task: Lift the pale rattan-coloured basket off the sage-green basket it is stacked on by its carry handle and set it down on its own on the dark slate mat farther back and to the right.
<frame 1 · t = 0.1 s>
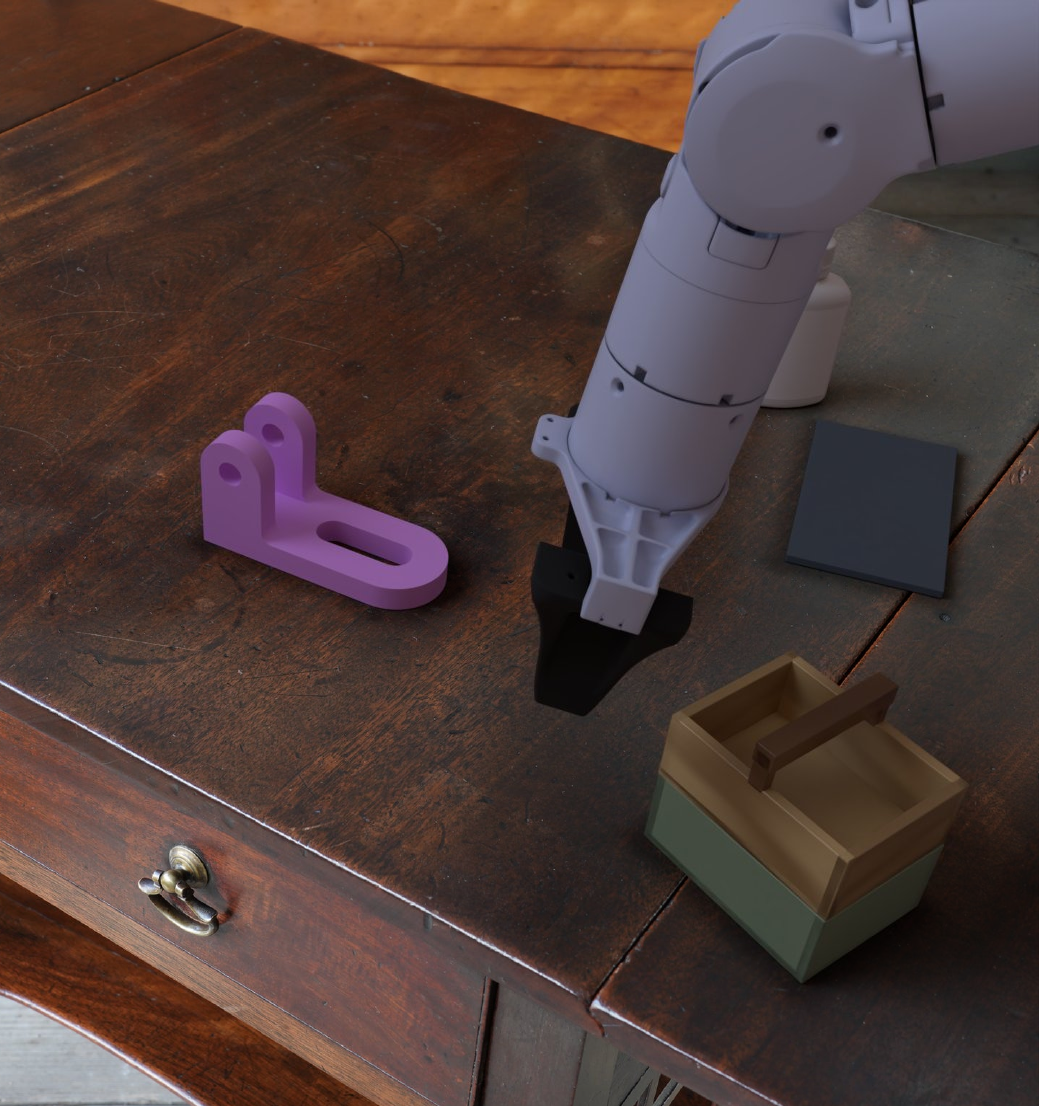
hand: (573, 636, 58), 10 cm above the table, tool pointing down, fingers open, 7 cm apart
mat: (874, 505, 82), on the table
top basket: (797, 807, 59), point 4 cm above the table, touching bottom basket
bracket: (332, 554, 79), on the table
eye dropper bottle: (775, 396, 91), on the table
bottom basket: (777, 869, 62), on the table, touching top basket
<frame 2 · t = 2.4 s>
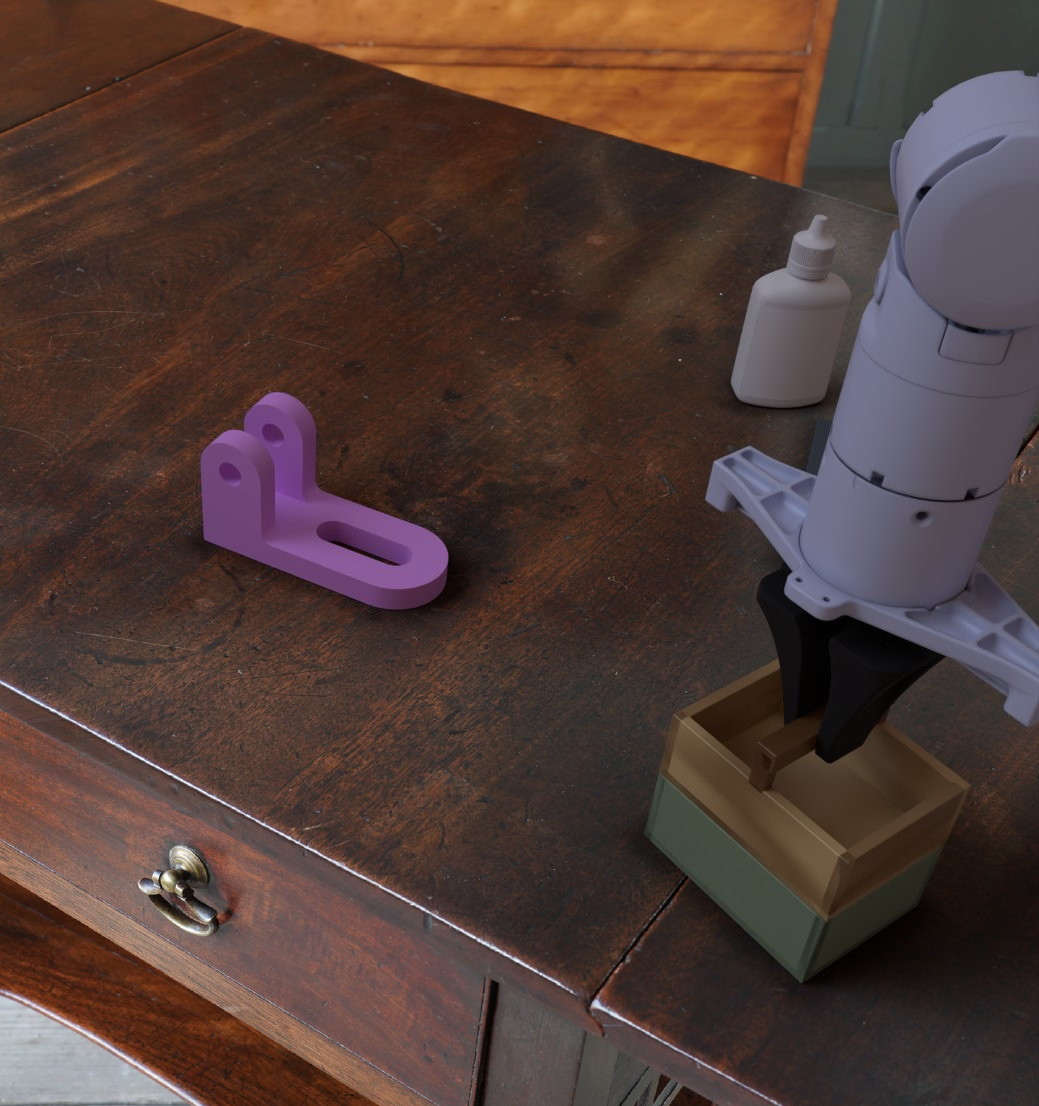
hand: (822, 735, 57), 8 cm above the table, tool pointing down, fingers closed on top basket
top basket: (798, 807, 59), point 4 cm above the table, touching gripper
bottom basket: (777, 869, 62), on the table
everything else where it was.
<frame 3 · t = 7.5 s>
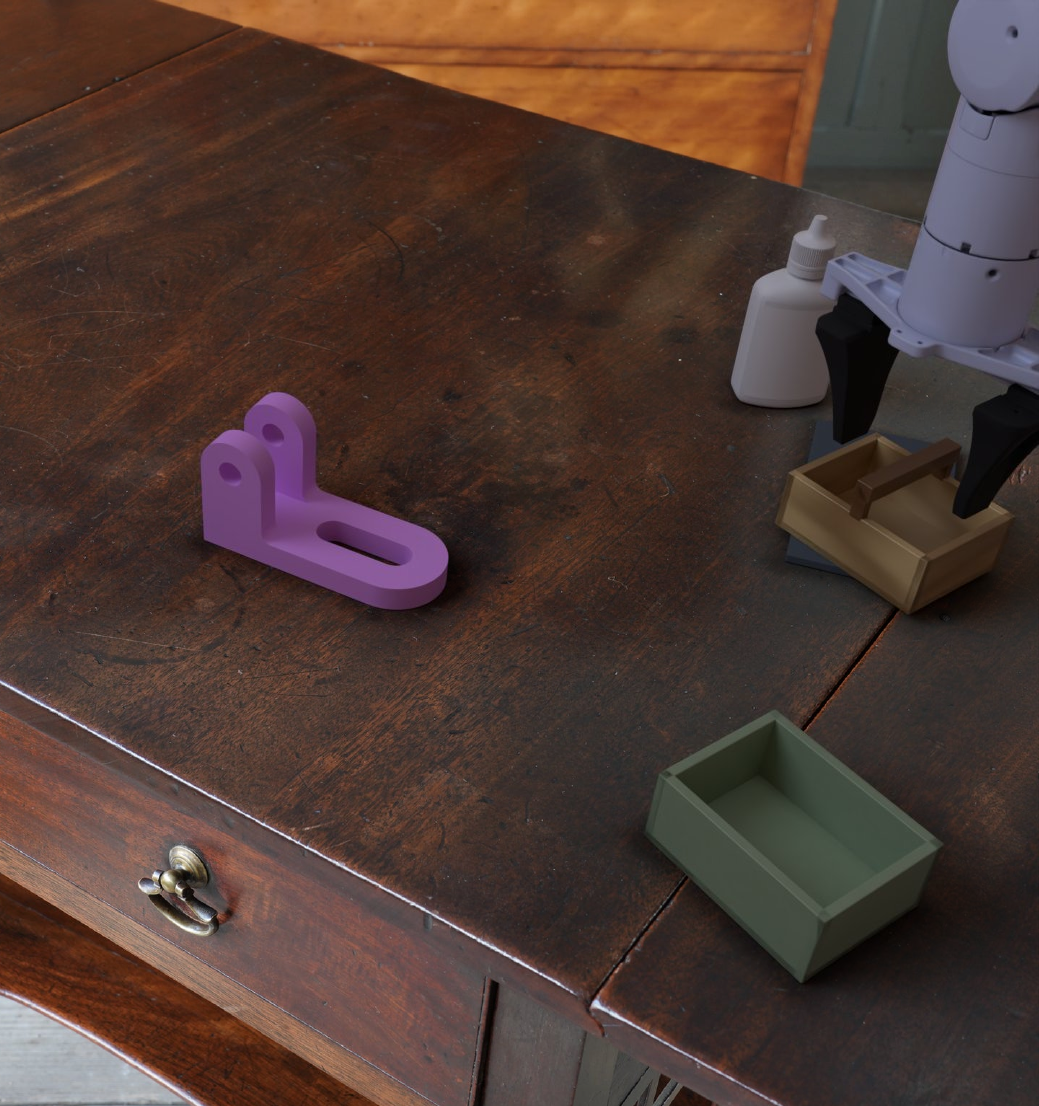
hand: (908, 472, 75), 5 cm above the table, tool pointing down, fingers open, 7 cm apart
top basket: (883, 545, 78), resting on mat
everything else where it was.
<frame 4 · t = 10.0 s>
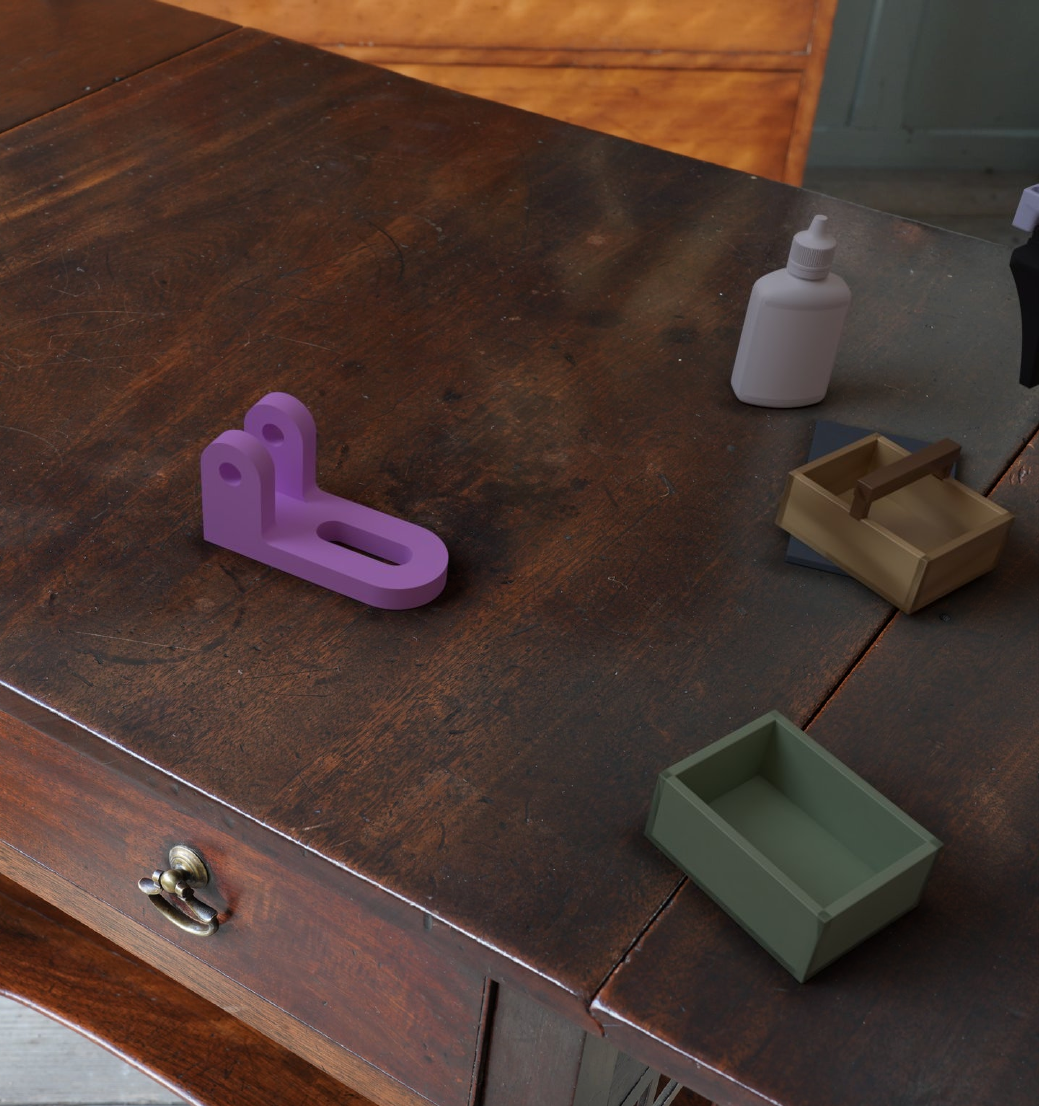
nothing on the table moved.
at the end: top basket inside the target area on the mat (0.5 cm from its centre), point 0.5 cm above the mat's base; top basket touching mat; top basket tilted 0° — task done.
